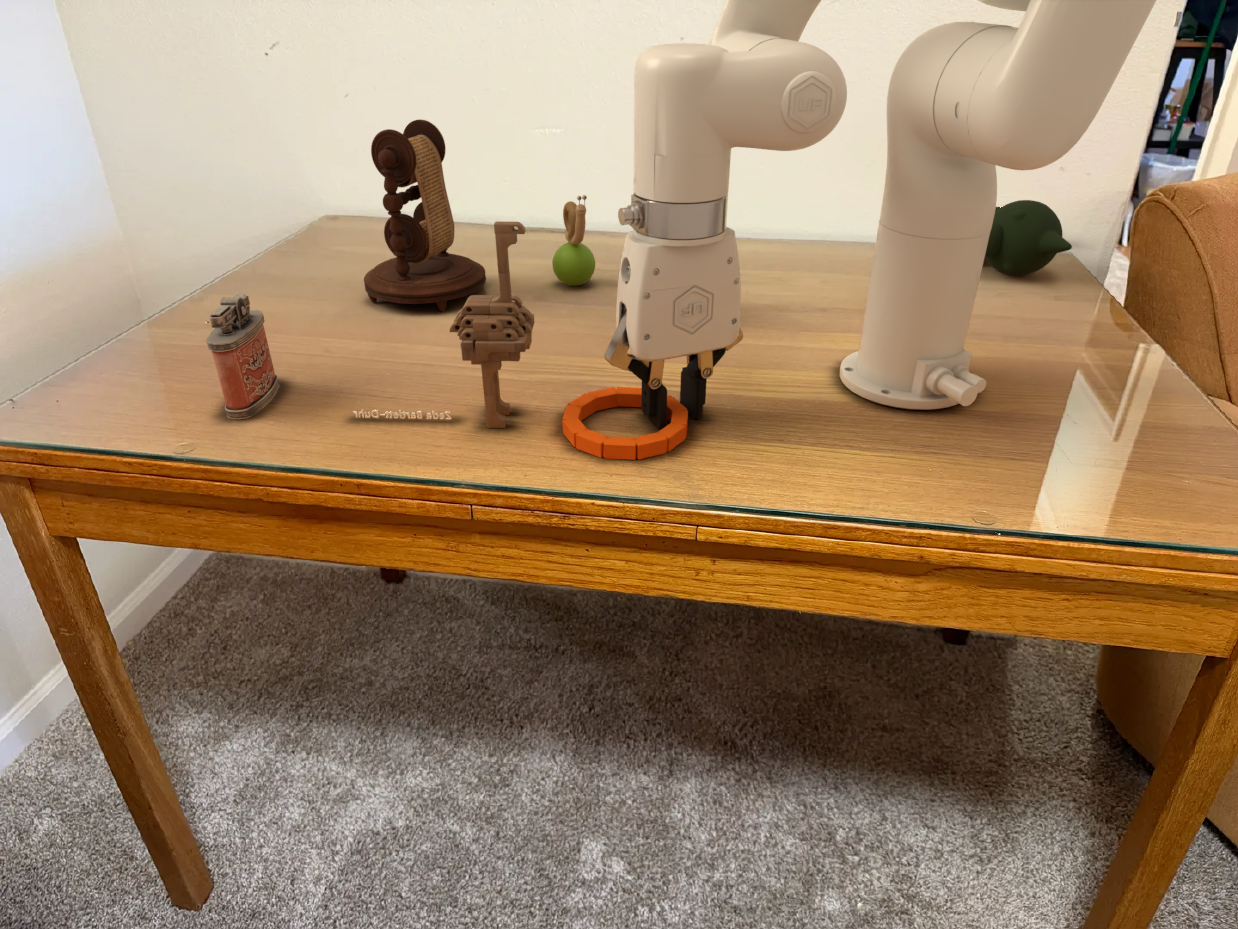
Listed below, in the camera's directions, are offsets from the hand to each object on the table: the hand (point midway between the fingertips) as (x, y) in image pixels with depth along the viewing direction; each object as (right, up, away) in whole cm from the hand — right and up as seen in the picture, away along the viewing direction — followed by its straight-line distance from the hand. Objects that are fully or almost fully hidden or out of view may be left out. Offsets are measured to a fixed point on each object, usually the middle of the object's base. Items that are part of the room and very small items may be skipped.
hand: (673, 415), depth 78 cm
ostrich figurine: (-21, -1, 0) cm, 21 cm away
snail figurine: (-11, +18, +31) cm, 37 cm away
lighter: (-40, +2, +4) cm, 40 cm away
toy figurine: (+40, +27, +36) cm, 60 cm away
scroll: (-29, +17, +28) cm, 44 cm away
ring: (-4, -1, -2) cm, 5 cm away
